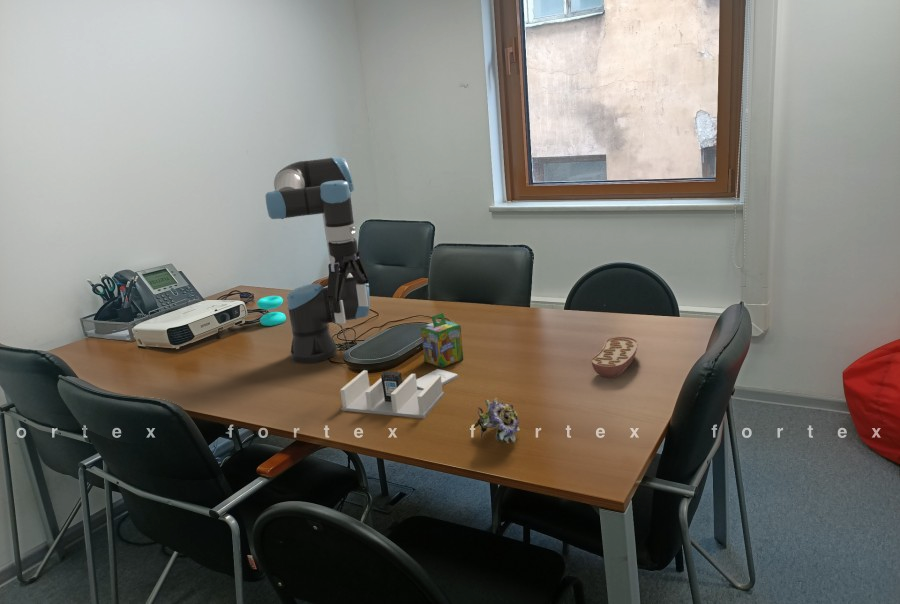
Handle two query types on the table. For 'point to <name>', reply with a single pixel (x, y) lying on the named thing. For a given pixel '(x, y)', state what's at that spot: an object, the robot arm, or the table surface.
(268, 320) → the donuts
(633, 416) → the table surface
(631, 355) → the anatomical model
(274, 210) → the robot arm
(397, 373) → the ink cartridge
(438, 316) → the chalk box
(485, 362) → the table surface
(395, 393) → the divider rack
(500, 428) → the passion flower
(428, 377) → the external hard drive
